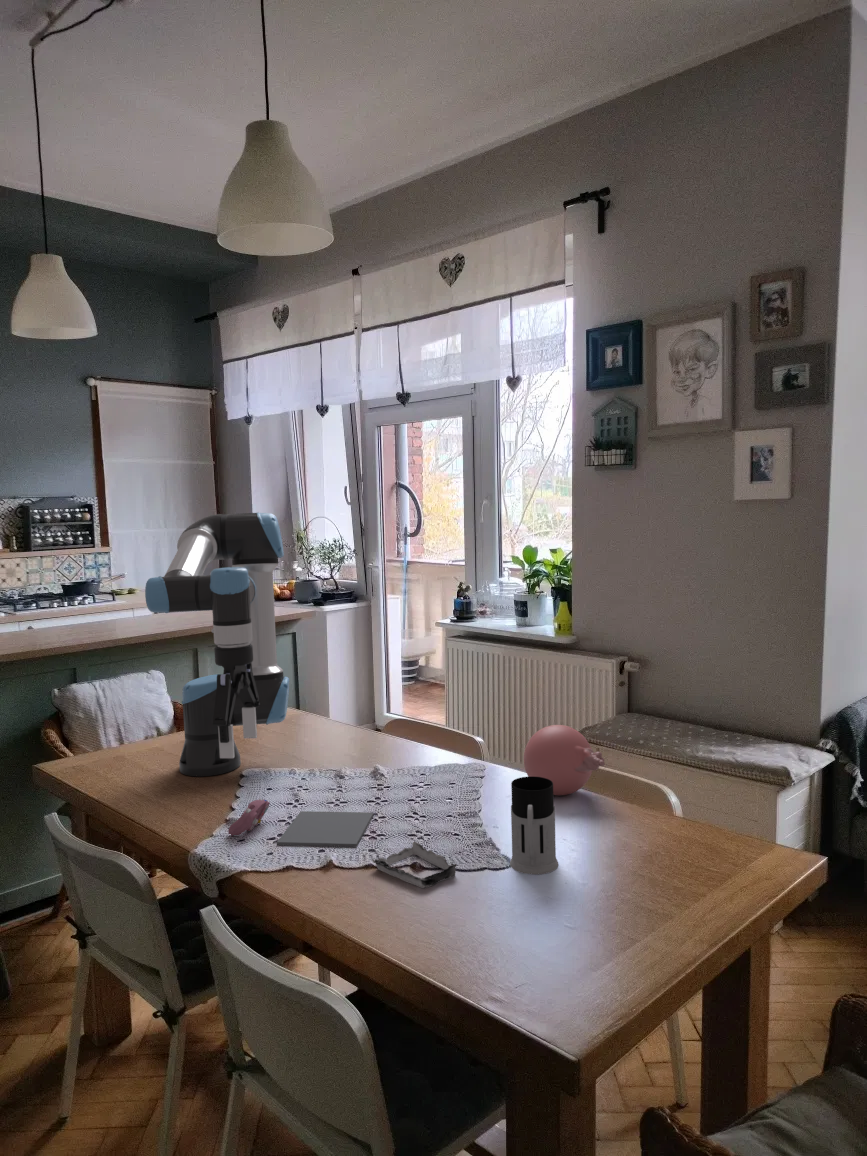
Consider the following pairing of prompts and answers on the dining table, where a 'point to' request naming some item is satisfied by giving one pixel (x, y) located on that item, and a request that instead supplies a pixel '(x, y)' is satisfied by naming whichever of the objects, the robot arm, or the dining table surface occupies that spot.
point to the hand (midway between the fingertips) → (239, 747)
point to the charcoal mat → (326, 829)
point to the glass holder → (533, 826)
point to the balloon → (561, 758)
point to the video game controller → (249, 817)
